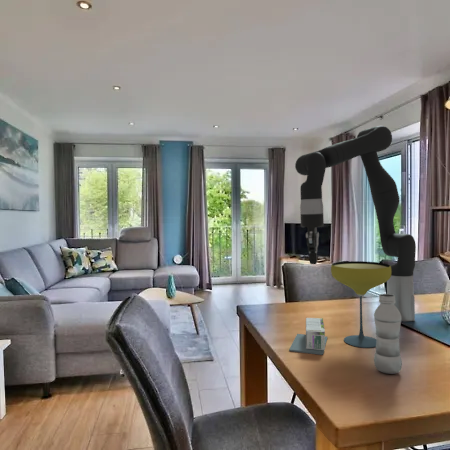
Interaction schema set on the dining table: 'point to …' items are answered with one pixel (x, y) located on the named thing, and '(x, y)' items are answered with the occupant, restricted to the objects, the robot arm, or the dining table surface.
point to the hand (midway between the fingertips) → (313, 263)
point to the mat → (304, 345)
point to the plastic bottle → (387, 335)
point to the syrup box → (315, 334)
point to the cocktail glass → (361, 288)
